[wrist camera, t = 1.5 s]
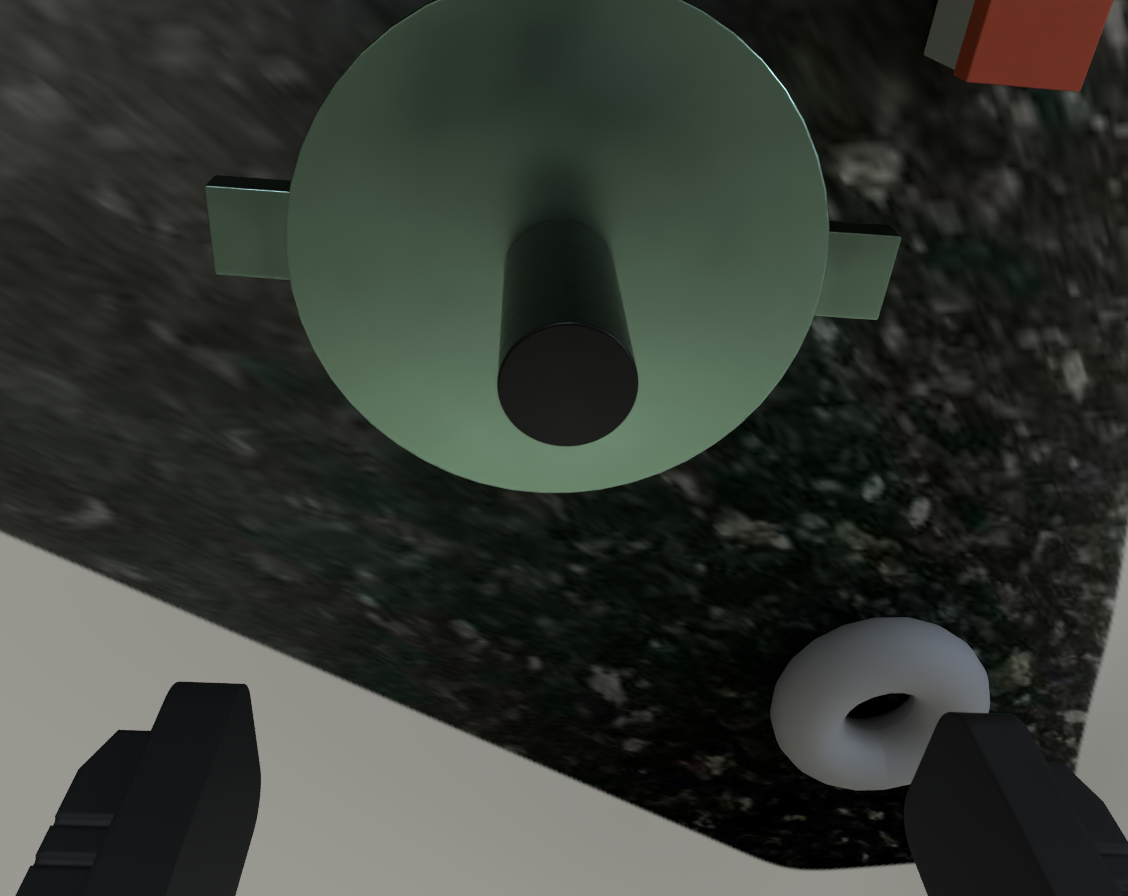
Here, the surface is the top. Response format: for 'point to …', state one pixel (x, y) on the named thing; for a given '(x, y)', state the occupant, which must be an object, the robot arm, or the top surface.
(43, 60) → the top surface
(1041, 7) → the block
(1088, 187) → the top surface
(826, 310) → the pot
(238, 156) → the top surface
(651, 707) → the top surface
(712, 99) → the lid
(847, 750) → the donut
